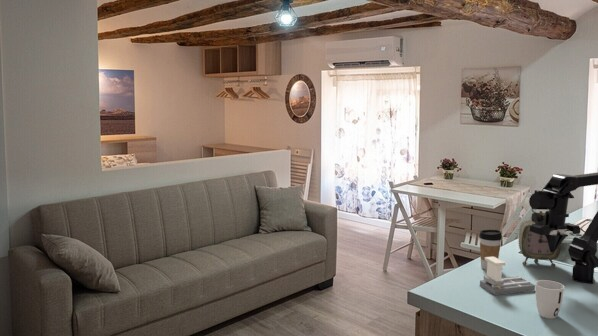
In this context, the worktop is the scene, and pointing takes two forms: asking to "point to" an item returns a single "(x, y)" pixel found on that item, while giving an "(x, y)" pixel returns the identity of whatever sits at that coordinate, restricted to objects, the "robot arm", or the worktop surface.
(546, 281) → the cup
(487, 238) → the coffee cup
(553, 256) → the tabletop clock
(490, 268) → the plate
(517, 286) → the fader console
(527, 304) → the worktop surface
